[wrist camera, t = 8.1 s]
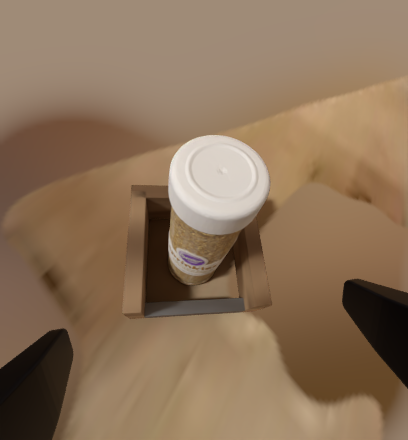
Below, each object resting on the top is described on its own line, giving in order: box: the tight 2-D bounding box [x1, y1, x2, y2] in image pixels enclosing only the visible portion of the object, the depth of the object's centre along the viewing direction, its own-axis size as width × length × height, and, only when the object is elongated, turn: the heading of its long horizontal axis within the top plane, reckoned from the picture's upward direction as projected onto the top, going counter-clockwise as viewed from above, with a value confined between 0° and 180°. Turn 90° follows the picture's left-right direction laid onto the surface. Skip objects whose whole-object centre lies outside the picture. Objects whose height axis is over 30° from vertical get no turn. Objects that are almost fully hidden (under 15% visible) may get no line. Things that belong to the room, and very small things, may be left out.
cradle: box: [122, 185, 272, 319], centre depth 21 cm, size 10×10×4 cm
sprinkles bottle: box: [167, 135, 270, 285], centre depth 17 cm, size 5×5×14 cm
